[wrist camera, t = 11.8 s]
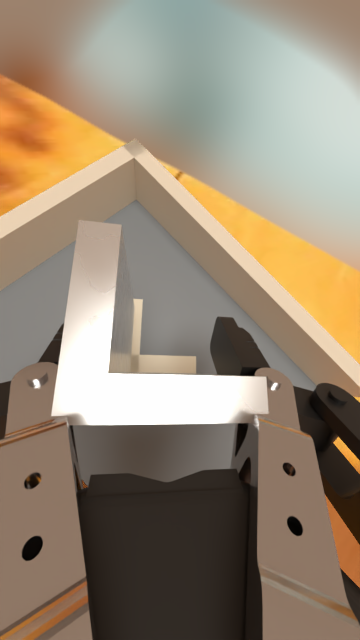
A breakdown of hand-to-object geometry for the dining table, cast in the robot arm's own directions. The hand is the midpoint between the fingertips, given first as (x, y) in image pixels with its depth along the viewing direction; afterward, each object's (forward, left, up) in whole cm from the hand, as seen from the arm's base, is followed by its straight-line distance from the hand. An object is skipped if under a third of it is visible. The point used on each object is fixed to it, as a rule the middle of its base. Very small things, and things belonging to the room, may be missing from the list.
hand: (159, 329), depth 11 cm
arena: (0, 0, -7) cm, 7 cm away
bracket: (0, 0, -4) cm, 4 cm away
